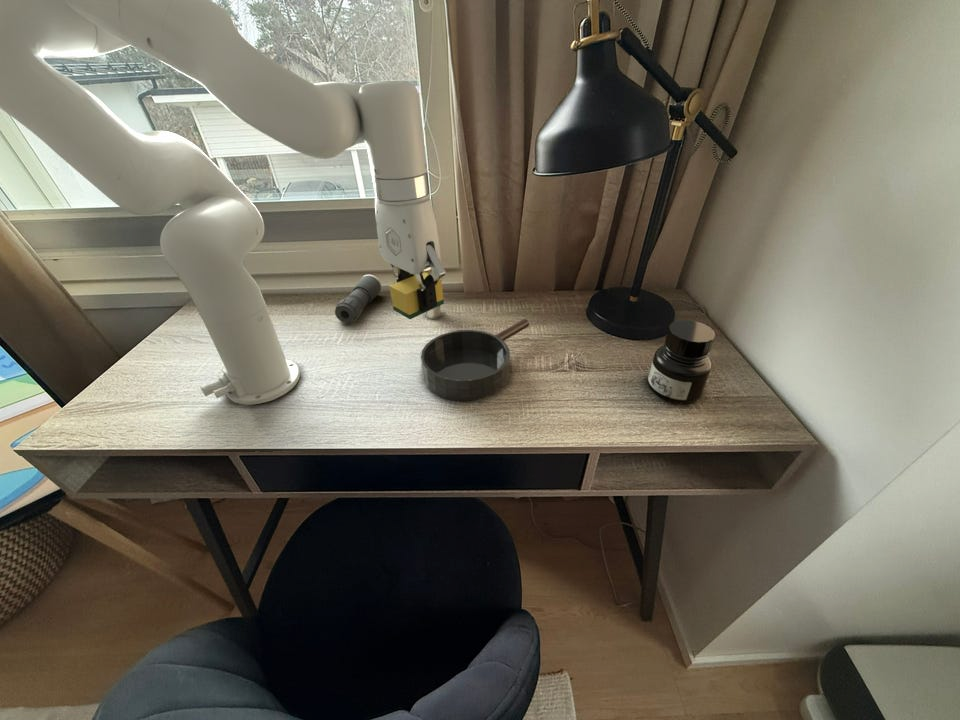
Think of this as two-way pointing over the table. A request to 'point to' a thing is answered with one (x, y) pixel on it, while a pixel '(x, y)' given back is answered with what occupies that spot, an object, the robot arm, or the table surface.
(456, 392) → the pan
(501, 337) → the pan handle
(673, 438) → the table surface
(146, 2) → the robot arm
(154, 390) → the table surface
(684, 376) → the ink bottle
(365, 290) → the flashlight
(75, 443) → the table surface
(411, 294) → the sponge
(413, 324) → the table surface
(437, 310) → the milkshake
